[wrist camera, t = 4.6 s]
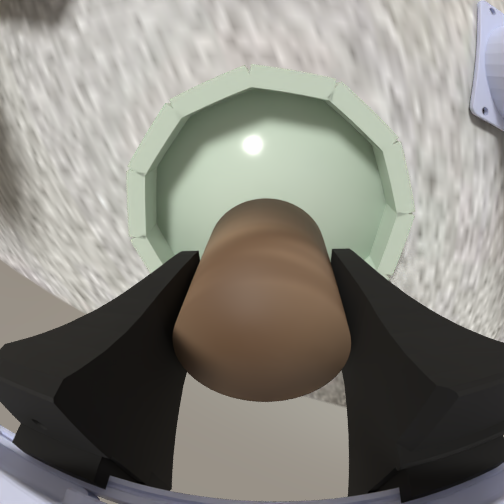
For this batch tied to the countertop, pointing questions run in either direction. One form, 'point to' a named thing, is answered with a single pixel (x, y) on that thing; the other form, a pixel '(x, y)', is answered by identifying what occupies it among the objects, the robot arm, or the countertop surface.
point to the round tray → (269, 165)
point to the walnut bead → (263, 307)
